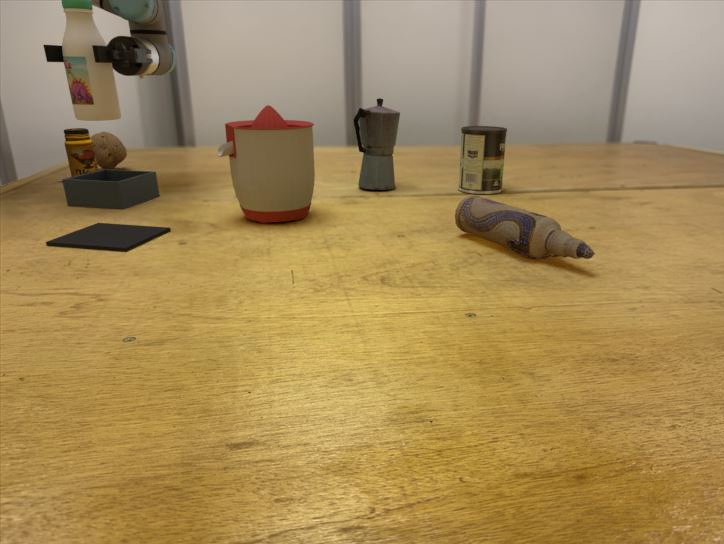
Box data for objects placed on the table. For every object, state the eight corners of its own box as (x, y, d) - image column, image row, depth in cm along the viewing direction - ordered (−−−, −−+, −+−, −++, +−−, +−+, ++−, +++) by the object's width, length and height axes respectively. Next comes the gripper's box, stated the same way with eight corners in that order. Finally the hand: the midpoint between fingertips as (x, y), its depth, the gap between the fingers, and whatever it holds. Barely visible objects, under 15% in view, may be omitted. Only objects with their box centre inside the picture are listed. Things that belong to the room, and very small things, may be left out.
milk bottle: (115, 117, 108) (94, 2, 100) (127, 120, 103) (106, -2, 95) (71, 119, 104) (46, -2, 96) (81, 122, 98) (55, -6, 90)
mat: (46, 245, 86) (45, 241, 86) (98, 225, 97) (98, 222, 97) (126, 251, 84) (125, 247, 84) (171, 230, 95) (170, 227, 94)
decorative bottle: (450, 235, 94) (452, 196, 91) (483, 229, 98) (486, 192, 95) (569, 280, 74) (576, 232, 72) (605, 271, 78) (612, 225, 76)
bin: (67, 205, 111) (61, 179, 108) (109, 193, 122) (104, 169, 120) (122, 209, 108) (117, 182, 106) (159, 196, 120) (155, 171, 118)
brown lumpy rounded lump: (124, 166, 154) (117, 129, 150) (134, 170, 148) (127, 132, 144) (88, 169, 149) (80, 131, 145) (97, 174, 143) (89, 134, 139)
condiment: (90, 182, 133) (79, 130, 128) (57, 181, 133) (45, 130, 129) (108, 177, 139) (98, 127, 135) (76, 176, 140) (66, 127, 135)
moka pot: (410, 185, 134) (411, 97, 126) (376, 196, 122) (375, 100, 114) (377, 181, 138) (376, 96, 131) (341, 191, 126) (338, 99, 118)
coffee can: (501, 186, 133) (506, 126, 128) (502, 195, 124) (507, 130, 119) (459, 185, 135) (462, 125, 129) (456, 193, 126) (459, 129, 120)
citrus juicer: (217, 212, 107) (204, 103, 99) (303, 204, 114) (297, 102, 107) (234, 232, 94) (221, 109, 86) (330, 221, 101) (325, 107, 94)
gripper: (183, 76, 117) (135, 78, 96) (87, 75, 117) (17, 76, 96) (178, 37, 114) (127, 30, 93) (79, 35, 114) (6, 28, 93)
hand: (71, 53), depth 94 cm, fingers closed on milk bottle, 8 cm apart
